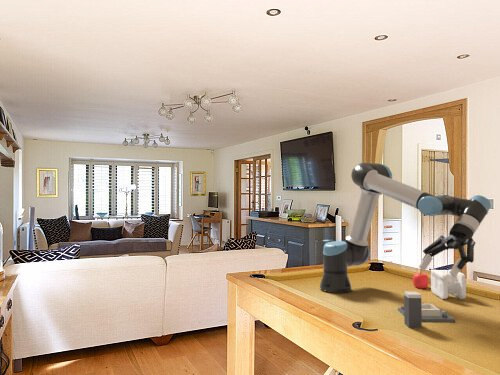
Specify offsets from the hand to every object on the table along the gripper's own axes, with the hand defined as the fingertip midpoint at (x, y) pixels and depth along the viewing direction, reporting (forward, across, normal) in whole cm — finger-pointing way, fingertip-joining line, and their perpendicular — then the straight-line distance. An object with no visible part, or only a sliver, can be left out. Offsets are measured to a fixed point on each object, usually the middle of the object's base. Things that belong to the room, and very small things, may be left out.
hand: (436, 271), depth 140 cm
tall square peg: (+21, +1, -5) cm, 21 cm away
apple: (-14, +43, -39) cm, 60 cm away
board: (+11, +8, -14) cm, 20 cm away
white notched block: (-11, +25, -37) cm, 46 cm away
